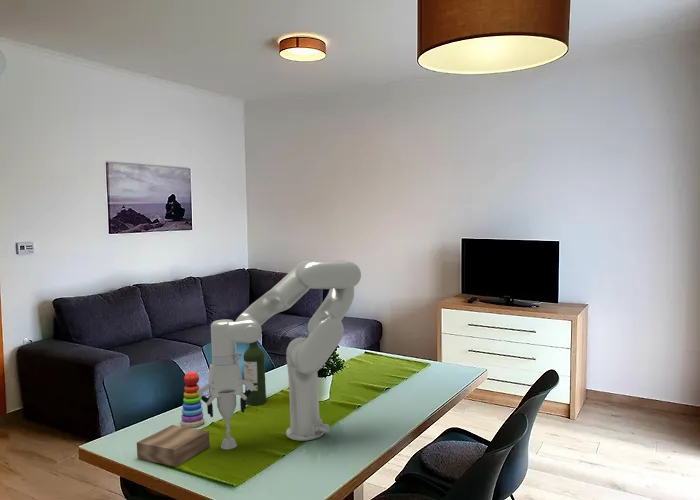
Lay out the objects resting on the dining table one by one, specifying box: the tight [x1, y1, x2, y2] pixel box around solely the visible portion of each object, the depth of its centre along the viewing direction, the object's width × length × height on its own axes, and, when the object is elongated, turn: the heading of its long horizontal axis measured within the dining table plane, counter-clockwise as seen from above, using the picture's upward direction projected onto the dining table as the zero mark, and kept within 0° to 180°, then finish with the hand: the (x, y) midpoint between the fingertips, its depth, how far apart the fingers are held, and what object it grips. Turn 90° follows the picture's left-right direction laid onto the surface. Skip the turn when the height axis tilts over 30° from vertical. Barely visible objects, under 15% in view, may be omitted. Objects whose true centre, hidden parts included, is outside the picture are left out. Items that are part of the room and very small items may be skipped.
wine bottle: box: [243, 340, 267, 407], centre depth 212 cm, size 8×8×30 cm
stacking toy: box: [180, 370, 205, 428], centre depth 192 cm, size 8×8×19 cm
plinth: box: [136, 424, 211, 468], centre depth 168 cm, size 15×15×5 cm
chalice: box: [216, 391, 238, 450], centre depth 172 cm, size 7×7×18 cm
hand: (227, 413), depth 171 cm, fingers open, 9 cm apart
